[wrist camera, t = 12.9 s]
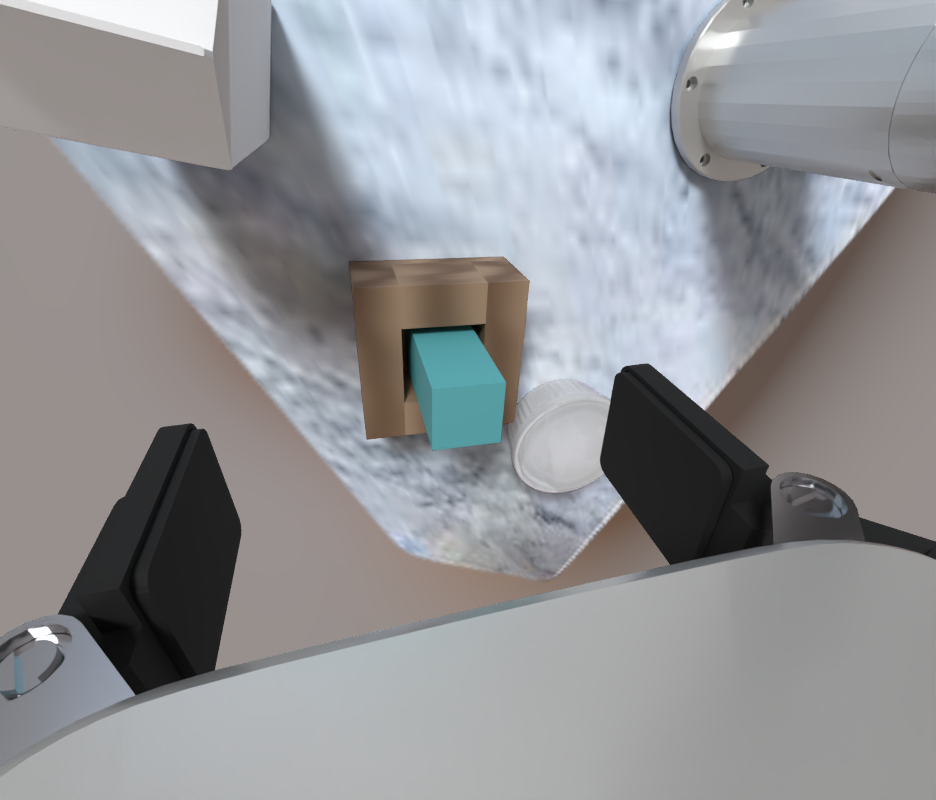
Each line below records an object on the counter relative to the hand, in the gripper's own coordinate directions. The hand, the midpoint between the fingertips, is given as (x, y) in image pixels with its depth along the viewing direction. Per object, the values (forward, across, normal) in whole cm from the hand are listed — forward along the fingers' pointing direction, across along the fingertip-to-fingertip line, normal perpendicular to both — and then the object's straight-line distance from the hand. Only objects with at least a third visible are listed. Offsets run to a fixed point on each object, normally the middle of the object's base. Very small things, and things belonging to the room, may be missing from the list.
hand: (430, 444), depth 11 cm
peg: (+27, -4, +10) cm, 29 cm away
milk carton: (+28, +8, -9) cm, 30 cm away
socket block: (+28, -4, +10) cm, 30 cm away
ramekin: (+28, -16, +21) cm, 39 cm away
